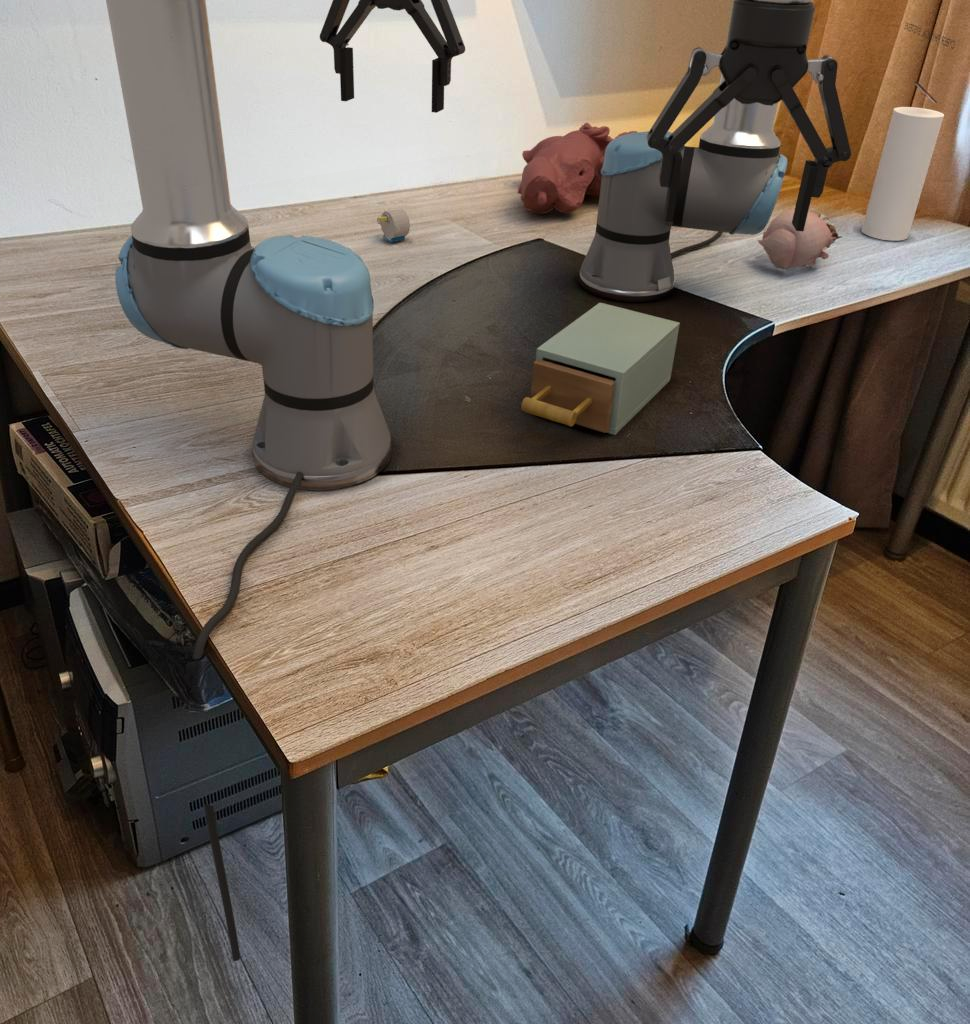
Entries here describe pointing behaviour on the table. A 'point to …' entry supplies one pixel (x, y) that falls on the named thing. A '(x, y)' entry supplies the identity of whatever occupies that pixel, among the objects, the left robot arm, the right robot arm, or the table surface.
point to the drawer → (570, 395)
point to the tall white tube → (902, 168)
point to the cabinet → (619, 354)
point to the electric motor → (394, 225)
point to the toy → (798, 240)
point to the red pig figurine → (564, 169)
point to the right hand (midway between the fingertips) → (732, 222)
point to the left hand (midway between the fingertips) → (392, 105)
